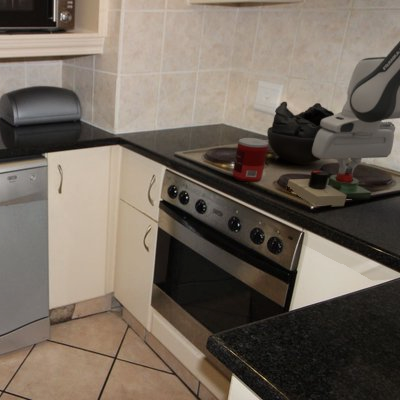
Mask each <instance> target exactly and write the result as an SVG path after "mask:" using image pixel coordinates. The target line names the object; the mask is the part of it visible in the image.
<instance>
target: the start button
mask: <svg viewBox="0 0 400 400" xmlns="http://www.w3.org/2000/svg"><path fill="white" fill-rule="evenodd" d="M336 175H337V178H336V179H338V180H341V181H346V182H352V179H353V178H354V173H353V174H340V173H339V171H338V172H337V174H336Z"/></svg>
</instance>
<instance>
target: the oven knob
mask: <svg viewBox="0 0 400 400" xmlns="http://www.w3.org/2000/svg"><path fill="white" fill-rule="evenodd" d="M329 177H330V173H329V171H325V170H321V169H312V170H311V171H310V176H309V178H308V179H309V183H308V186H309V187H311V188H314V189H320V190H322V189H325V188H326V184H327V180H328V178H329Z"/></svg>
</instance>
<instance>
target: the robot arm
mask: <svg viewBox="0 0 400 400" xmlns="http://www.w3.org/2000/svg"><path fill="white" fill-rule="evenodd" d="M348 83H349V84H348V87H347V92H346V95H347V98H346V101H345V103H344V104H343V107H342V108H341V109H342V110H341V112H338V113H334V115H333V116H330V117H327V118H324V119H322V120H321V122H320V126H321V127H323V128H322V129H320V130H319V131H318V133H317V135H316V137H315V140H314V144H313V148H312V153H313V155H314V156H315V157H317V158H319V159H320V160H336V161H337V163H338V166H339V167H338V172H339V173H340V174H353V175H354V172H355V168H356V167H357V166H358V165H359V164H360V163H361V162H362V159H375V158H376V159H379V158H380V159H381V158H382V159H383V158H388V157H389V156H390V155H391V154H392V151H393V146H394V139H395V131H396V125H395V124H394V123H393V122H391V121H385V120H396V119H400V40H399V41H398V42H397V44H396V45H395V46H393V48H392V49H391V51H389V53H388V54H387V55H386V56H378V57H377V56H375V57H373V56H372V57H365V58H363V59H361V60H359V61H358V62H357V64H356V65H355V67H354V69H353V72H352V74H351V77H350V80H349V82H348ZM349 160H350V162H349ZM348 162H349V163H348ZM347 163H348V165H347Z"/></svg>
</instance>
